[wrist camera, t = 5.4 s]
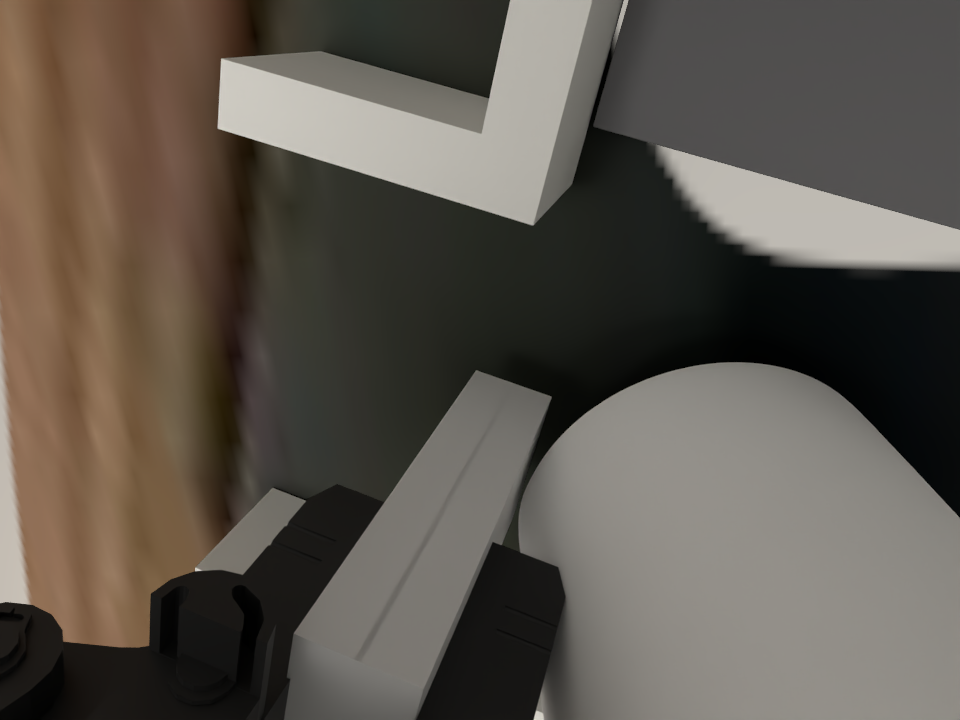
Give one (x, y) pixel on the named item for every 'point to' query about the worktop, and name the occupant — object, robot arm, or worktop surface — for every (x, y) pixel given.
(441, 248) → the worktop surface
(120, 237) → the worktop surface
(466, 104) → the trap tray
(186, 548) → the worktop surface
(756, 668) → the can
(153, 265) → the worktop surface
